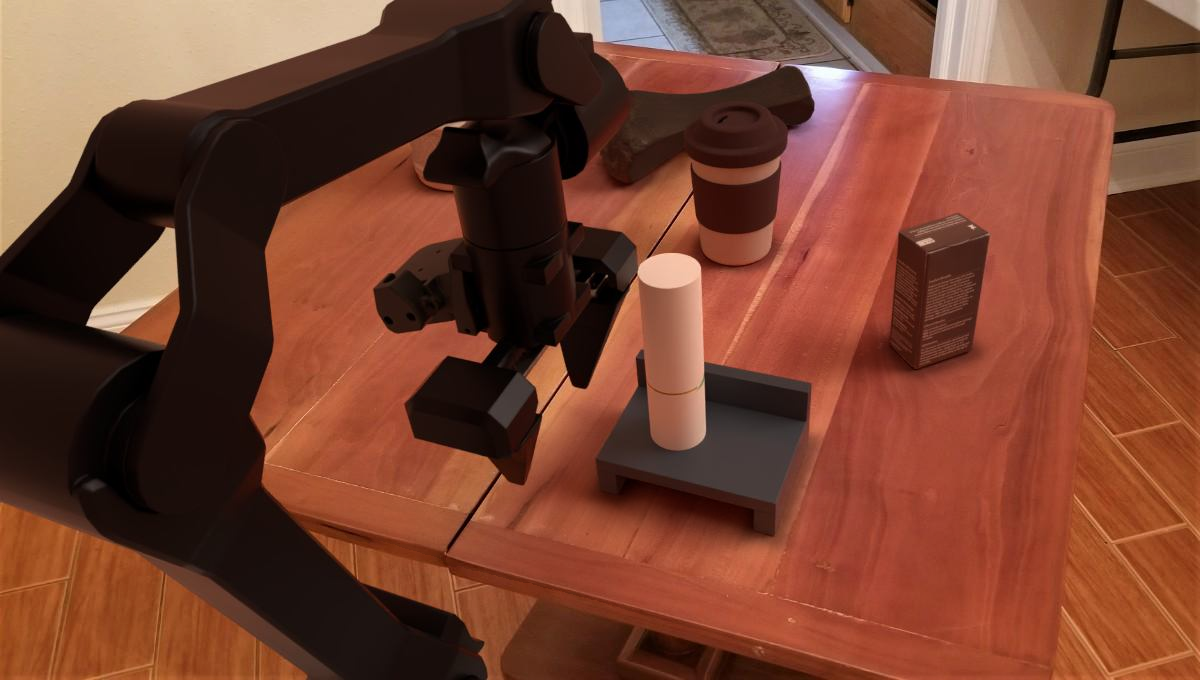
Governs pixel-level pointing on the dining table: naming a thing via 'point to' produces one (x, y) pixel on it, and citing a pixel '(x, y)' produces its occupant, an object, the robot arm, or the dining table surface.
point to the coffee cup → (735, 179)
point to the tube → (673, 349)
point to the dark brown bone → (666, 116)
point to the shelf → (720, 443)
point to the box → (937, 289)
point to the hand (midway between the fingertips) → (550, 432)
